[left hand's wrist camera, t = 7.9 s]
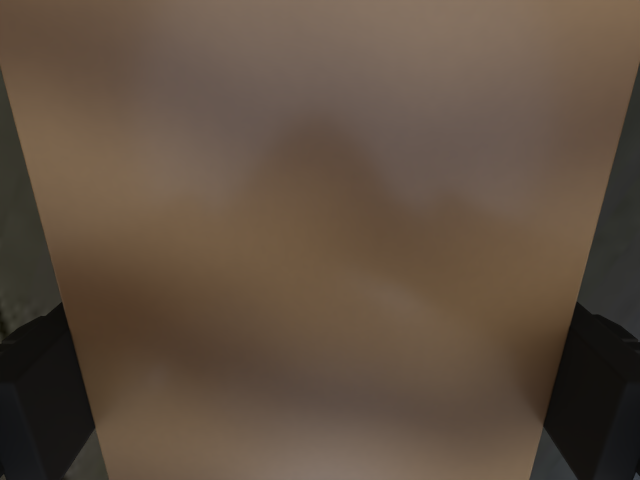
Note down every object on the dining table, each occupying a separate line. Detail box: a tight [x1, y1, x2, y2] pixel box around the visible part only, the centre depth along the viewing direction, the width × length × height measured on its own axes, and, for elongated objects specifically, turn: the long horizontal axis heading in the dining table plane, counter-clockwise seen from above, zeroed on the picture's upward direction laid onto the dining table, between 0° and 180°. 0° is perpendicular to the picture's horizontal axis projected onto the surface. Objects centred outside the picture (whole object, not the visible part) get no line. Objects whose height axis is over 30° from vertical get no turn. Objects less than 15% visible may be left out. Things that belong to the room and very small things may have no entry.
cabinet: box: [0, 0, 640, 480], centre depth 11 cm, size 21×10×9 cm, turn 0°
